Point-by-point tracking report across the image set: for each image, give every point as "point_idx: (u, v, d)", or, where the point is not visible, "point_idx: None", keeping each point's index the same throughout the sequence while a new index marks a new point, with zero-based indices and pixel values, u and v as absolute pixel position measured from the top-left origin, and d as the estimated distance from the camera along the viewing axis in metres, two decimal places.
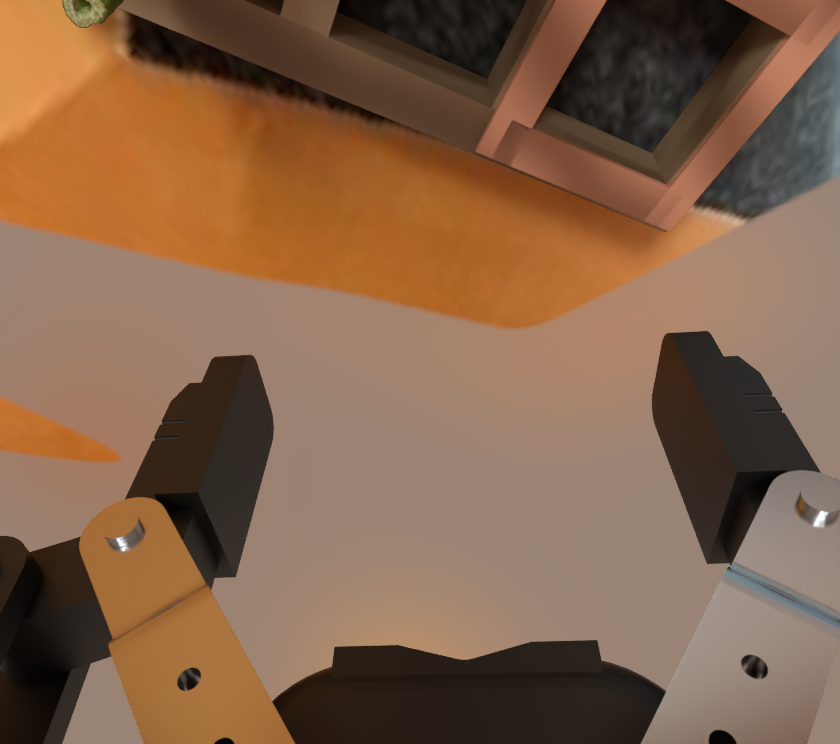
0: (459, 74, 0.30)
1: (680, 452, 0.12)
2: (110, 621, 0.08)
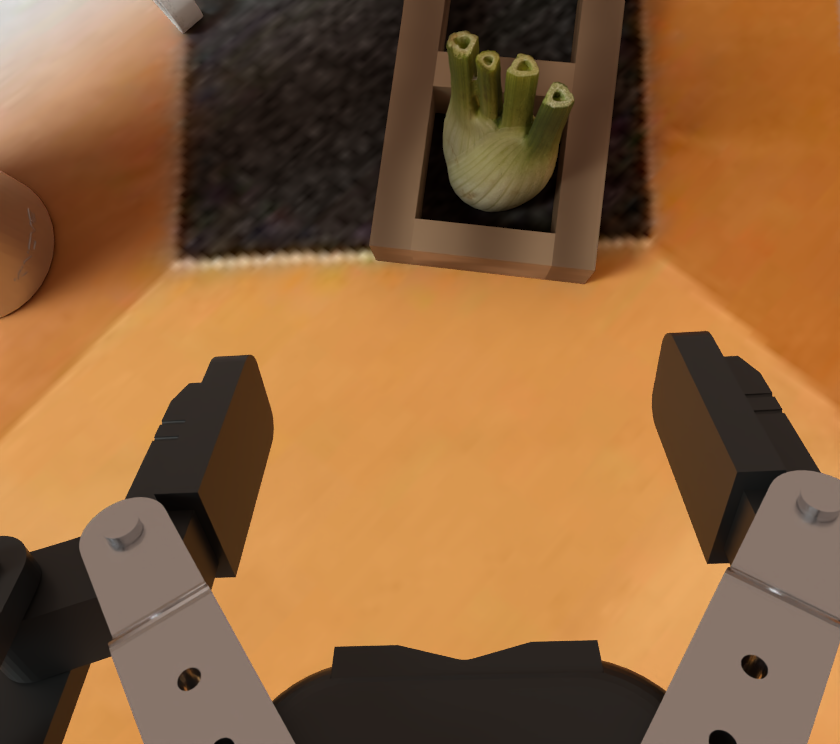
0: None
1: (680, 452, 0.12)
2: (110, 621, 0.08)
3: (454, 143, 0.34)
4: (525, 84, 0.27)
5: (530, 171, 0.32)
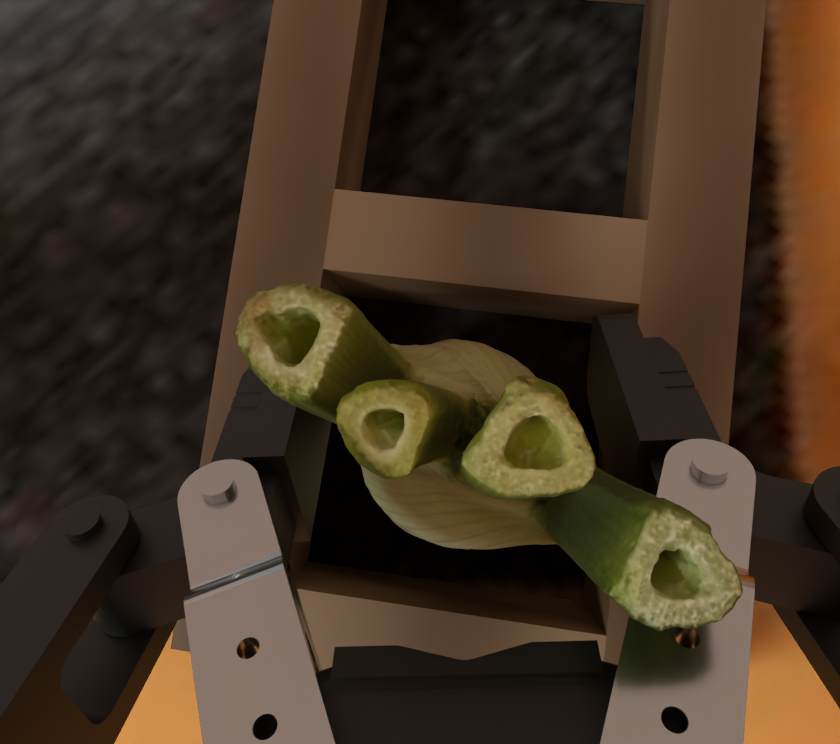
0: (647, 34, 0.18)
1: (605, 428, 0.12)
2: (191, 574, 0.09)
3: None
4: (538, 496, 0.07)
5: None
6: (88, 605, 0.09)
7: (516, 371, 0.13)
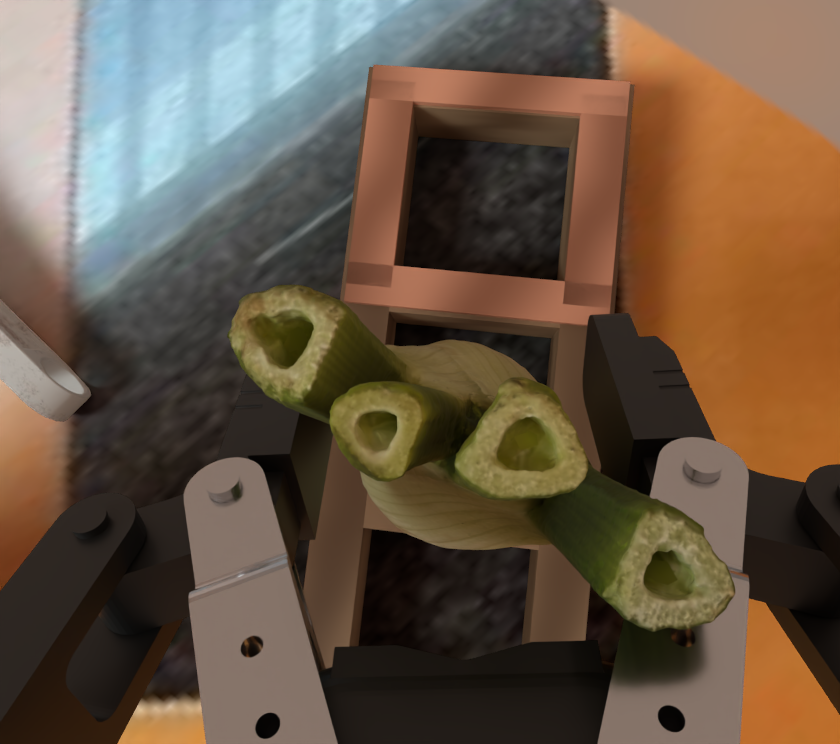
0: (550, 366, 0.30)
1: (600, 427, 0.12)
2: (196, 571, 0.09)
3: None
4: None
5: (545, 544, 0.12)
6: (94, 603, 0.09)
7: (513, 372, 0.13)
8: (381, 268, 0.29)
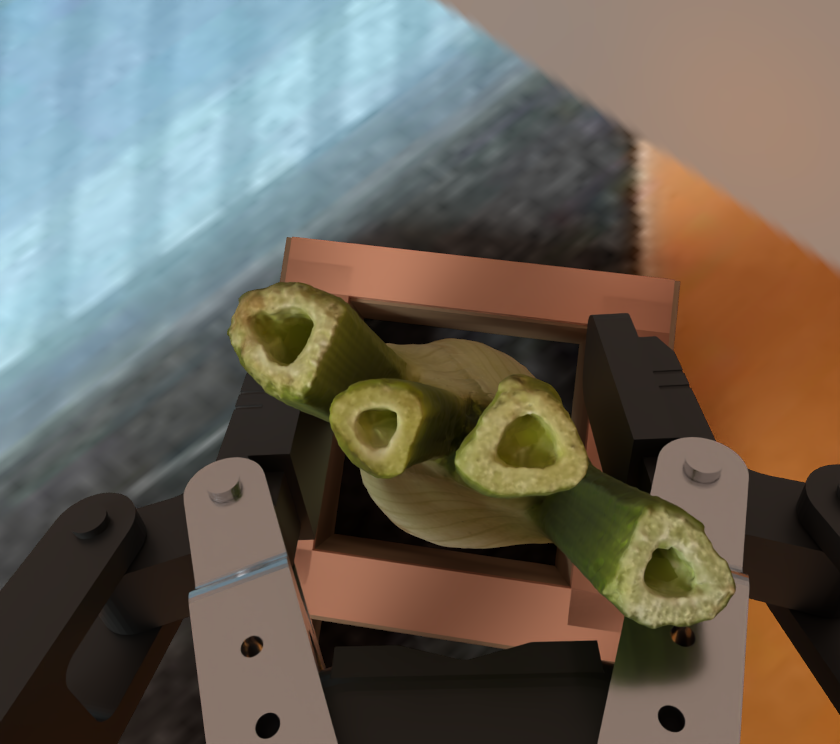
0: None
1: (600, 427, 0.12)
2: (196, 571, 0.09)
3: None
4: (531, 495, 0.07)
5: (545, 542, 0.12)
6: (94, 603, 0.09)
7: (513, 370, 0.13)
8: None
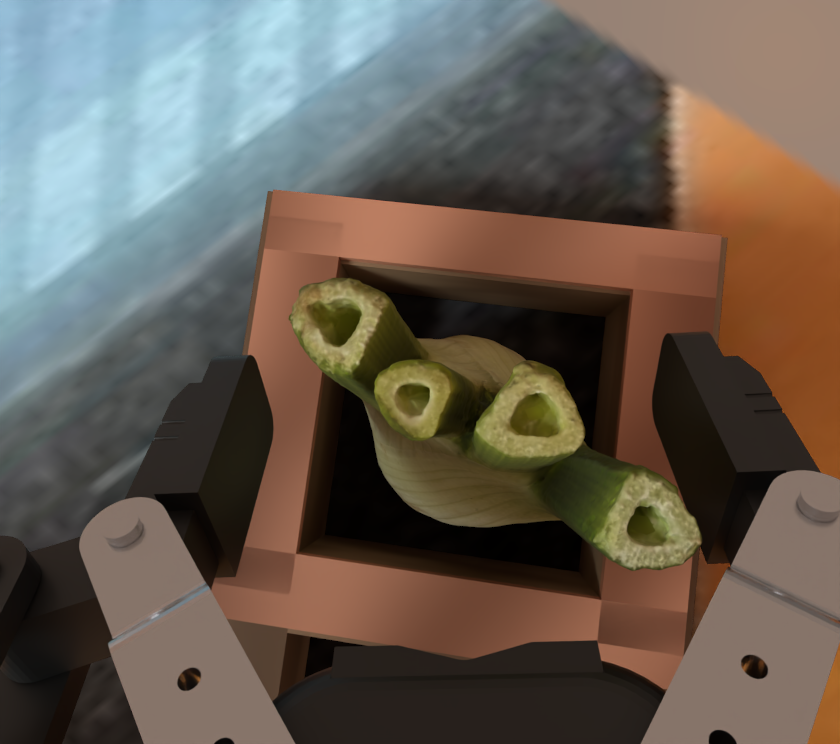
0: None
1: (680, 452, 0.12)
2: (110, 621, 0.08)
3: (376, 425, 0.15)
4: (537, 461, 0.08)
5: (544, 519, 0.14)
6: None
7: None
8: (274, 558, 0.16)
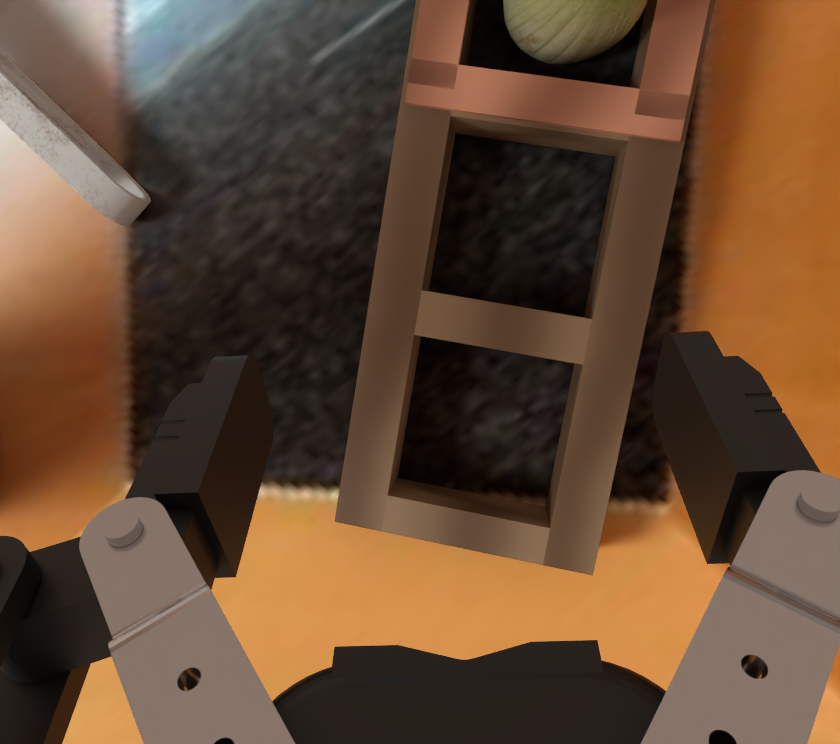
0: (612, 185, 0.30)
1: (680, 452, 0.12)
2: (110, 621, 0.08)
3: None
4: None
5: (612, 10, 0.24)
6: None
7: None
8: (445, 67, 0.27)
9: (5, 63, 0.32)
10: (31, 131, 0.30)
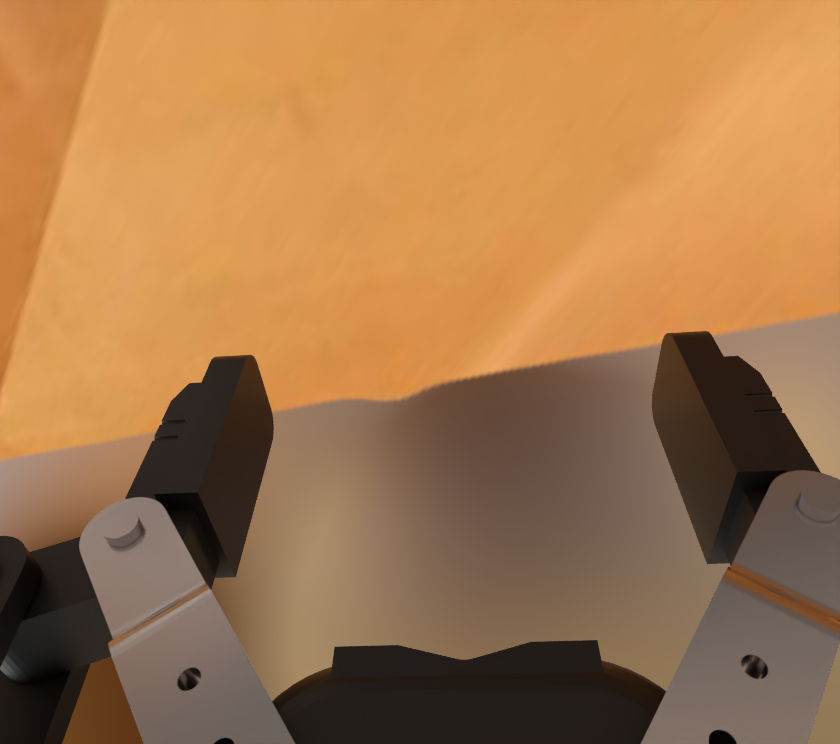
0: None
1: (680, 452, 0.12)
2: (110, 621, 0.08)
3: None
4: None
5: None
6: None
7: None
8: None
9: None
10: None
